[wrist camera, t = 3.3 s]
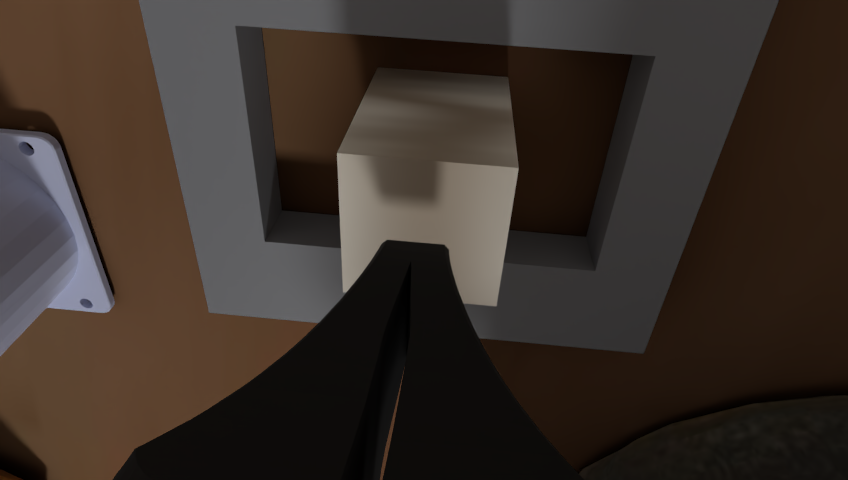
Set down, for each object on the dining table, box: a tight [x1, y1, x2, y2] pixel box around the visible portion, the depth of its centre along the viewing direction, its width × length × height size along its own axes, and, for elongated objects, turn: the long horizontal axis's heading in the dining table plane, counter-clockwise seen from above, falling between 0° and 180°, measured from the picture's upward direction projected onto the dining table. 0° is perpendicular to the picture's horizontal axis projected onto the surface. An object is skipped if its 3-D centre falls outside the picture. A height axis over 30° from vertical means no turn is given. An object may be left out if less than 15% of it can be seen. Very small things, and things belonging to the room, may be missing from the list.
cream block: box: [337, 67, 519, 306], centre depth 16 cm, size 4×4×6 cm
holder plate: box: [139, 0, 779, 354], centre depth 18 cm, size 16×14×2 cm
